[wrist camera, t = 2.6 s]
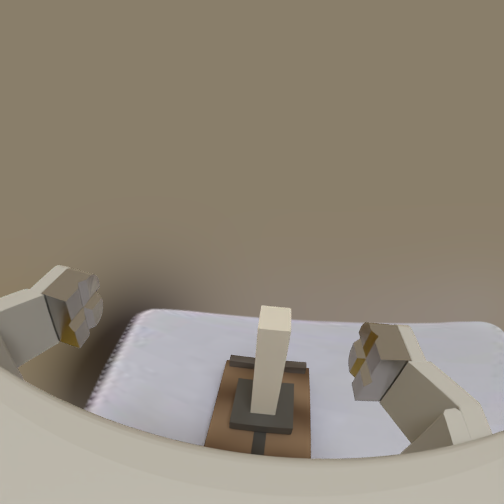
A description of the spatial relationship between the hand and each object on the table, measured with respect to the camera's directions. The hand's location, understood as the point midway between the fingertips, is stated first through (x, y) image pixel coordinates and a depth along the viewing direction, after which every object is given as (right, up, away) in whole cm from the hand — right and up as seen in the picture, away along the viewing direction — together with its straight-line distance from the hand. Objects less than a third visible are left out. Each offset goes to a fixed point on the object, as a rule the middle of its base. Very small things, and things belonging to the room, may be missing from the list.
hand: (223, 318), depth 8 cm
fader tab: (+2, -14, +19) cm, 24 cm away
